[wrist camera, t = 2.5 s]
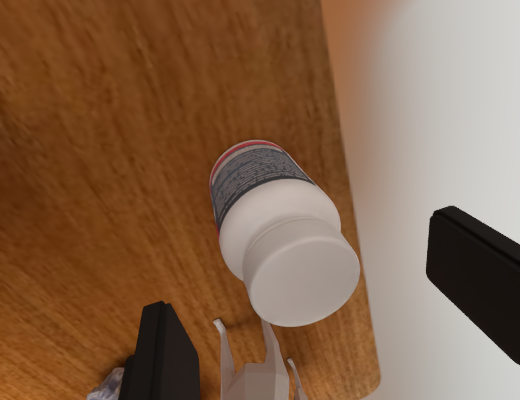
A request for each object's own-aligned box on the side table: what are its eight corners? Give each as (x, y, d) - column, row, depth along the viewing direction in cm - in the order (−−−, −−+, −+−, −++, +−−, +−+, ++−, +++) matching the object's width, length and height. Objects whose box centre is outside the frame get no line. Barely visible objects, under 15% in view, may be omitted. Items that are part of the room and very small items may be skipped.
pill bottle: (189, 182, 17) (192, 297, 9) (257, 118, 16) (324, 185, 8) (249, 233, 19) (292, 358, 12) (311, 180, 18) (401, 276, 11)
